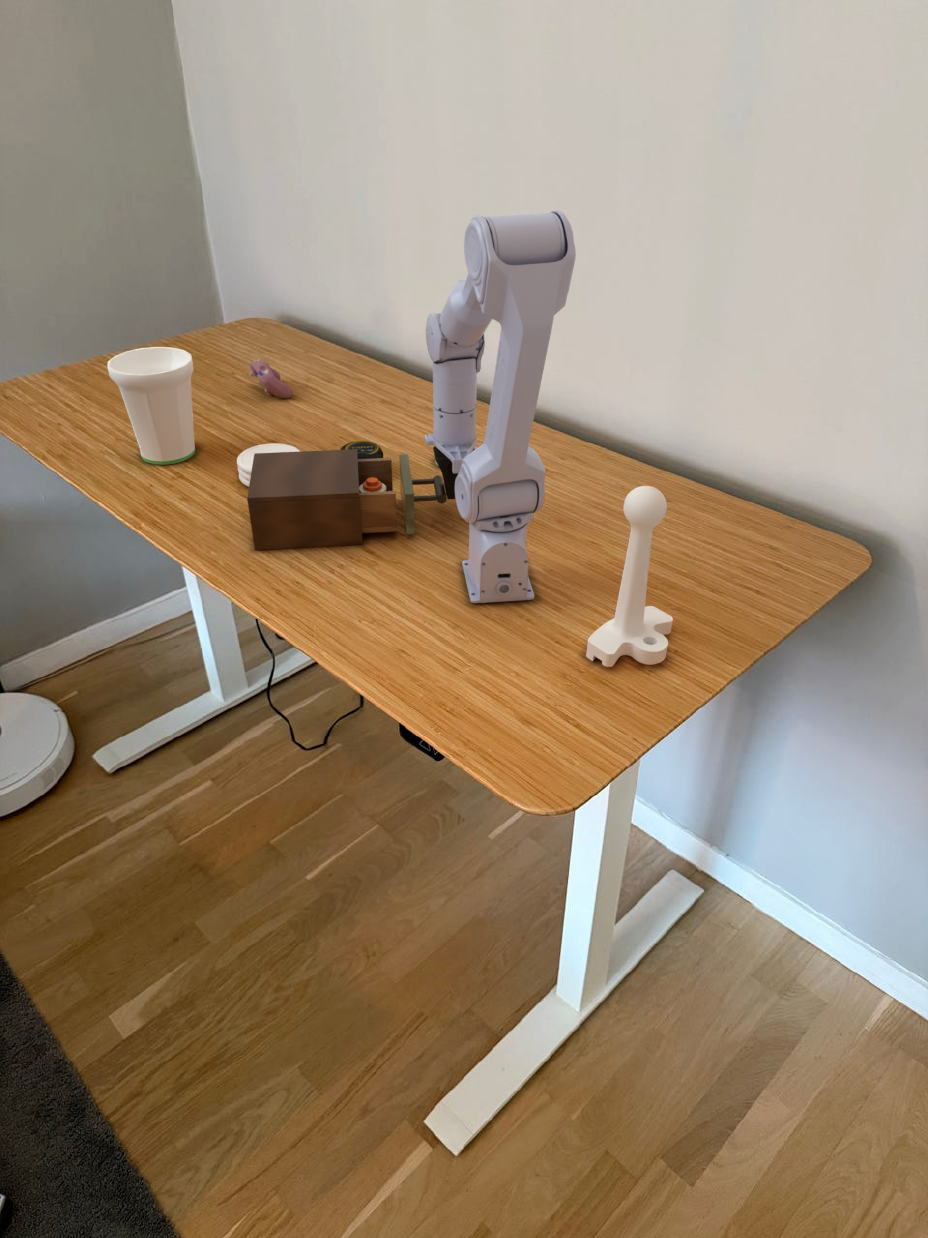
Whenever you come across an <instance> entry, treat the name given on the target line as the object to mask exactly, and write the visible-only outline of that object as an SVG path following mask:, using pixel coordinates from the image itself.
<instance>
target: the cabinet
mask: <svg viewBox="0 0 928 1238" xmlns="http://www.w3.org/2000/svg"><path fill="white" fill-rule="evenodd" d="M246 499H247V507H248V513H249V519H250V527H251V534H252V540H253V547H254V551H265V550H283V549H284V550H285V549H304V548H305V549H306V548H322V547H339V546H340V547H341V546H342V547H343V546H358V545H361V546H362V545H363V533H362V526H361V511H360V496H359V478H358V460H357V449H347V450H340V449H327V450H326V449H325V450H304V451H303V450H300V452H277V453H255V454H254V459H253V465H252V471H251V478H250V484H249V487H248V491H247V497H246Z"/></svg>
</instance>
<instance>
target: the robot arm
mask: <svg viewBox="0 0 928 1238" xmlns="http://www.w3.org/2000/svg"><path fill="white" fill-rule="evenodd" d="M463 239H464V240H463V253H464V261H465V267H466V270H467V275H466V279H460V280H458V282H457V283H456V284H455V285H454V286H453V288H452V289H451V291H450V293H449V295H448V298H447V300H446V302H445V304H444V306H443V308H442V311H441V312H440V313H436V312H435V313H433V312H432V313H429V314H428V316H427V319H426V321H425V322H426V324H425V343H426V347H427V352H428V355H429V357H430V360H431V361H432V416H433V418H432V421H433V422H432V423H433V432H432V433H429V434H425V435H424V443H425V445H426V446H433V447H432V452H433V454H434V455H433V456H434V461H435V460H436V462H437V464H438V465H437V464H436V465H437V467H438V468H439V469H440V472H441V475H442V479H443V483H444V488H445V492H446V497H447V500H455V503H456V507H457V510H458V513H459V515H460V517H461V518H462V519H463V520H465V522H466V523H468V559H465V560H464V559H463V561H462V562H461V566H462V570H463V575H464V579H465V582H466V587H467V592H468V597H469V601H470V603H472V604H485V603H501V602H502V603H503V602H518V601H532V600H534V599H535V592H534V590H533V586H532V583H531V581H530V577H529V563H530V557H529V552H528V549H527V546H528V545H527V544H528V527H529V526H528V525H529V523H531V522H534V514H535V513H536V514H537V513H538V512H540V511H541V509H542V507H543V506H544V503H545V500H546V499H545V498H546V485H545V484H546V483H545V481H546V480H545V479H546V469H545V466H544V463H543V461H542V458H541V457H540V455H539V454H538V452H537V451H536V449H534V448H533V447H531V446H530V445H529V444H530V440H531V435H532V430H533V425H534V420H535V414H536V411H537V410H536V409H537V404H538V399H539V394H540V390H541V385H542V380H543V374H544V370H545V365H546V359H547V355H548V348H549V343H550V340H551V335H552V330H553V325H554V324H553V323H554V317H555V316H556V315H557V314H558V313H559V312H560V311H561V310H562V309H563V308H565V306H566V304H567V299H568V295H569V291H570V286H571V282H572V277H573V273H574V268H575V263H576V256H577V255H576V253H577V251H576V246H575V238H574V231H573V228H572V225H571V222H570V220H569V218H568V217H567V216H566V215H565V213H564V212H563V211H562V210H551V211H550V212H541V213H526V214H509V215H494V216H492V215H491V216H483V215H474V216H473V217H472V218H471V219H470V221H469V223H468V224H467V226H466V229H465V232H464V238H463ZM493 320H494V321H495V322H497V323H499V325H500V327H501V328H500V335H499V341H498V348H497V355H496V361H495V368H494V374H493V382H492V387H491V395H490V402H489V408H488V413H487V422H486V427H485V434H484V441H483V443H482V444H481V445H480V446H478V447H476V445H477V443H478V435H477V386H478V385H477V383H478V382H477V381H478V373H480V372H481V369H482V358H483V355H484V353H485V352H484V351H485V347H486V341H485V332H486V331H487V329H488V327H489V325H490V324H491V323H492V321H493Z"/></svg>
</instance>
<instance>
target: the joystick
mask: <svg viewBox="0 0 928 1238" xmlns="http://www.w3.org/2000/svg"><path fill="white" fill-rule="evenodd" d="M667 504H668V503H667V499H666V497H665V495H664V494H663V493H662V492H661V490H660V489H658V488H656V487H654V486H651V485H640V486H637V487H635V488H633V489H632V490H631V491H630V492H628V494H627V495H626V497H625V499H624V502H623V514H624V517H625V518H626V520H627V521H628V522H629V525H630V533H629V539H628V544H627V549H626V554H625V555H626V556H625V559H624V565H623V571H622V576H621V580H620V586H619V592H618V597H617V602H616V608H615V613H614V617H613V618H611V619H609V620H607V621H606V622H605V623H603V624H602V625H600V627H598V628H597V629H596V630H595V631H593V633H592V634H591V635H590V636H589V637H588V638H587V645H586V653H585V655H586V659H588V660H590V661H591V662H594V660H595V659H596V658H597V659H598V660H600V661H601V665H602V666H604V667H607V668H610V667H614V665H615V664H616V662H617V660H619V658H621V656H629V657H632V658H633V659H634V661H637V662H638V663H640V664H642V665H649V666H651V665H652V666H653V665H657V664H660V663H663V661H664V660H665V659H666V657H667V653H668V647H669V646H668V645H669V640H668V638H667V637H666V636H665V635H669V634H671V633H672V627H673V623H674V618H673V617H672V616H671V615H669V613H666V612H664V611H663V610H661V609H659V608H657V607H656V606H653V605H647V606H646V599H647V588H648V580H649V579H648V578H649V568H650V560H651V559H650V558H651V549H652V540H653V539H652V537H653V530H654V528H655V527H656V526H657V525H659V524H660V523H661V522H662V521H663V520H664V518H665V516H666V514H667V511H668V510H667V509H668V505H667Z"/></svg>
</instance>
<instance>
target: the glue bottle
mask: <svg viewBox="0 0 928 1238" xmlns="http://www.w3.org/2000/svg"><path fill="white" fill-rule="evenodd" d="M384 491H386V486H385V485H384V484H383V483H381V482H380V481H378V479H377V478H374V477H371V478H368V479H367V480H366V481H365V482H364V483H363V484H362V485H360V487H359V493H363V492H384Z"/></svg>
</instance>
